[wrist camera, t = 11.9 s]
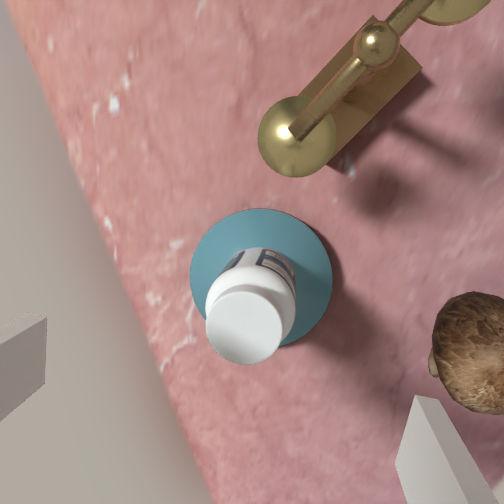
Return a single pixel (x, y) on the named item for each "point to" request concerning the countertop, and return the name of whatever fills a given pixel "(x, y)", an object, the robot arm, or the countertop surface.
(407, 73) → the balance
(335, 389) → the countertop surface
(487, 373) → the mushroom
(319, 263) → the dish
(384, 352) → the countertop surface
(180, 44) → the countertop surface
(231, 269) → the pill bottle
